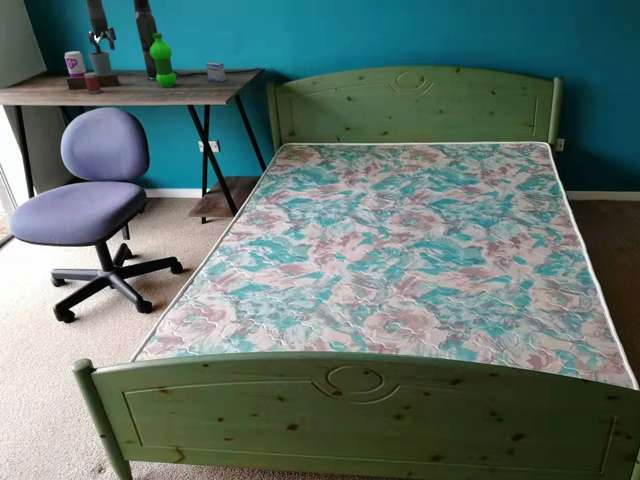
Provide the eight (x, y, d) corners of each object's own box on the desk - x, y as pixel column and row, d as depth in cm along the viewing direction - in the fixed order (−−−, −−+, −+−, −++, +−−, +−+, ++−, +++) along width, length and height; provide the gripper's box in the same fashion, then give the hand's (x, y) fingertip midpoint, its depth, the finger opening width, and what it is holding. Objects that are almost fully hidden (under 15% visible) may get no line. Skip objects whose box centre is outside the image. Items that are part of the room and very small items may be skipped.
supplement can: (83, 84, 311) (74, 54, 303) (69, 84, 313) (60, 54, 305) (92, 80, 318) (84, 51, 310) (78, 80, 319) (70, 50, 311)
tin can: (101, 90, 301) (96, 72, 296) (100, 93, 296) (95, 74, 292) (89, 91, 300) (84, 73, 295) (88, 94, 295) (83, 75, 290)
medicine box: (208, 81, 312) (205, 63, 307) (213, 78, 315) (210, 61, 311) (221, 82, 309) (218, 64, 304) (226, 80, 313) (223, 62, 308)
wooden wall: (119, 83, 312) (117, 72, 309) (119, 85, 309) (116, 74, 306) (70, 87, 307) (67, 76, 304) (69, 89, 303) (66, 78, 300)
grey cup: (96, 78, 321) (89, 55, 314) (93, 74, 328) (86, 52, 322) (115, 76, 325) (109, 53, 319) (112, 72, 333) (106, 49, 326)
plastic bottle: (157, 89, 300) (145, 36, 287) (157, 84, 309) (146, 32, 295) (177, 87, 302) (167, 35, 289) (177, 82, 311) (167, 31, 297)
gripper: (91, 19, 283) (100, 55, 292) (114, 14, 294) (122, 49, 303) (80, 18, 286) (89, 53, 295) (103, 14, 297) (111, 48, 305)
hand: (106, 51), depth 299 cm, fingers open, 8 cm apart
